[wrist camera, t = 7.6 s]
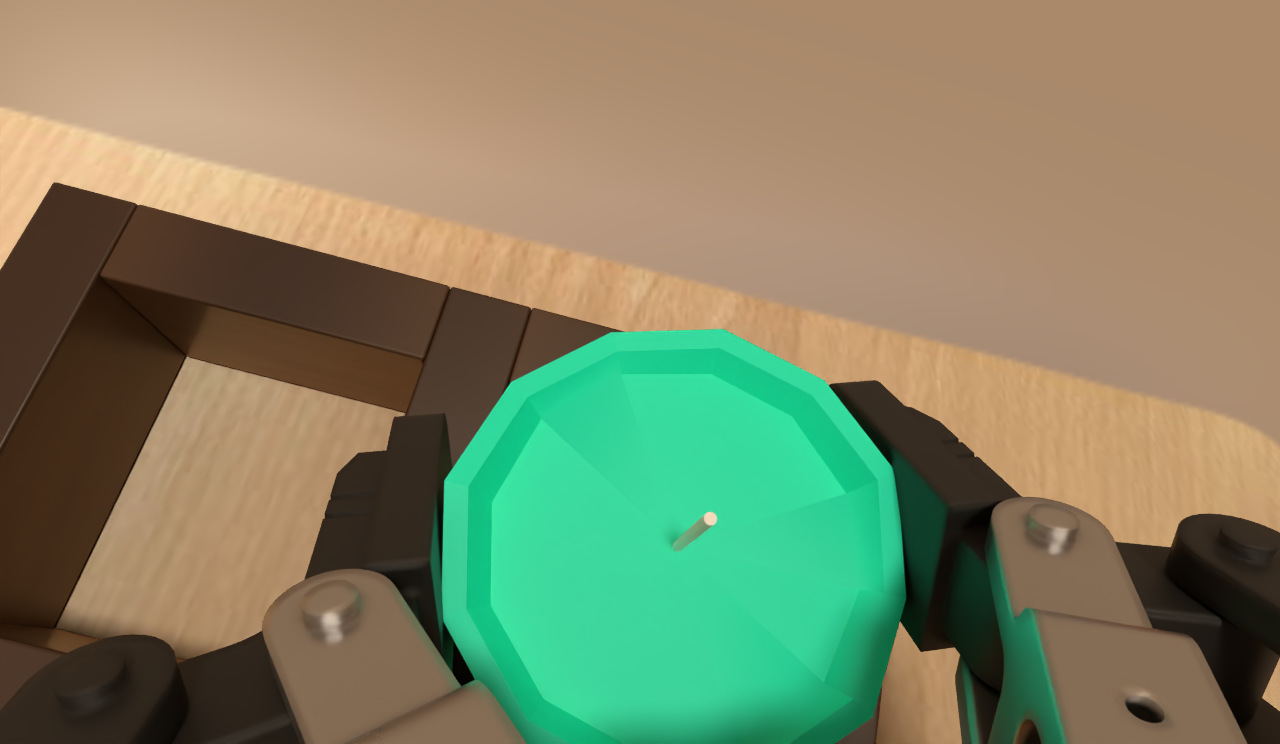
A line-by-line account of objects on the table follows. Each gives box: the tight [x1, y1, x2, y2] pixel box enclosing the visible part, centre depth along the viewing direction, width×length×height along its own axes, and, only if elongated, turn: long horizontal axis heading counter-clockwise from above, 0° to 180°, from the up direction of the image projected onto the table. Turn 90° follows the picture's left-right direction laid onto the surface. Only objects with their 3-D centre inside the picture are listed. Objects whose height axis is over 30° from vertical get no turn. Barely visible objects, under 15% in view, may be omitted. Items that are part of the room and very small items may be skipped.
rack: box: [0, 183, 907, 744], centre depth 17 cm, size 19×10×4 cm, turn 77°
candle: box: [442, 329, 906, 744], centre depth 14 cm, size 6×6×12 cm
